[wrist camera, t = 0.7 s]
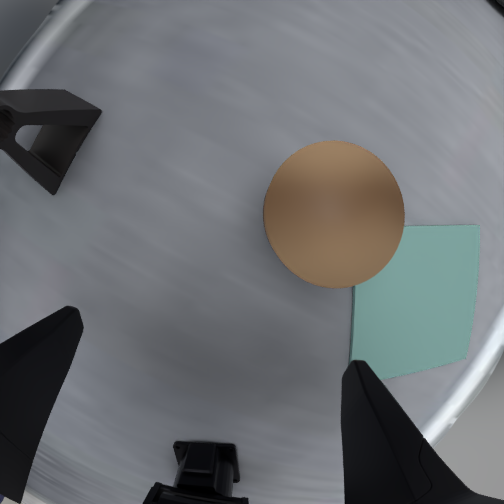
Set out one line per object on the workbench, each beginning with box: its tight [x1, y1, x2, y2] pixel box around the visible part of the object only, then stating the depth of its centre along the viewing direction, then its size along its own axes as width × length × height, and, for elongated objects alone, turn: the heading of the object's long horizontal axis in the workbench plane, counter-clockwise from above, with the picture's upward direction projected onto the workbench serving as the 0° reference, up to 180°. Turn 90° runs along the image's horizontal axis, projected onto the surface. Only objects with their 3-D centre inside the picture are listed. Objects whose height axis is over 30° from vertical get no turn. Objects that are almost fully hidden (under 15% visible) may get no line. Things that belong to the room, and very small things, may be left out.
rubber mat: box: [349, 225, 480, 380], centre depth 23 cm, size 14×14×1 cm
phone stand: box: [0, 89, 102, 195], centre depth 16 cm, size 9×6×12 cm, turn 146°
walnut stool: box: [263, 141, 405, 288], centre depth 18 cm, size 7×7×10 cm
